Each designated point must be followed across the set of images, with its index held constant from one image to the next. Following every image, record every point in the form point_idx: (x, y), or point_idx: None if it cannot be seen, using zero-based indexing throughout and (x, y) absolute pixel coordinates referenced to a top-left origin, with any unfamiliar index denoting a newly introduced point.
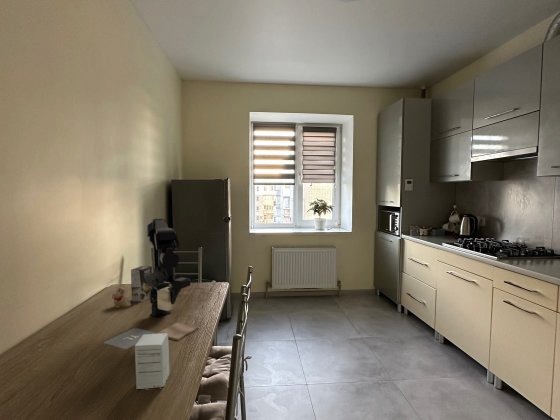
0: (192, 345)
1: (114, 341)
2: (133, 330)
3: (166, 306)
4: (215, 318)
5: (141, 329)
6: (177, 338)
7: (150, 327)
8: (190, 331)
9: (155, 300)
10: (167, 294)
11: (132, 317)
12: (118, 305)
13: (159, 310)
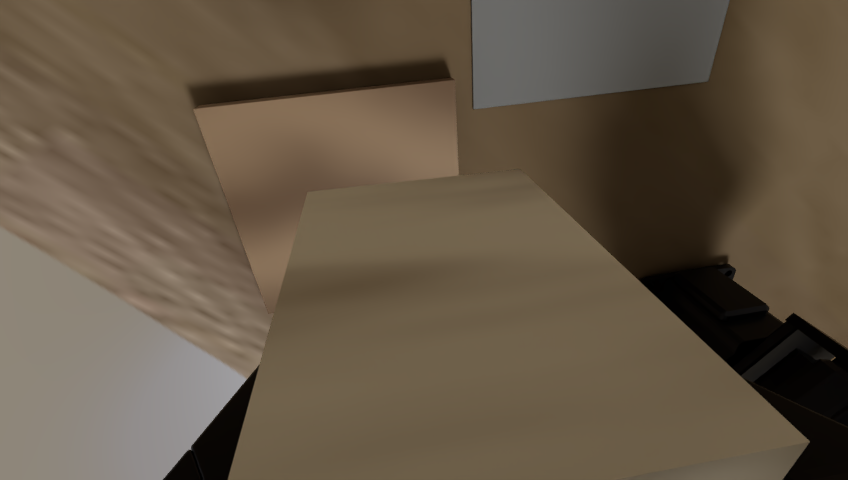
0: (15, 111)
1: None
2: (691, 37)
3: (318, 220)
4: None
5: (641, 87)
6: (203, 109)
7: (600, 150)
8: (245, 246)
9: (781, 357)
10: (250, 458)
11: (829, 188)
12: None
13: (685, 312)
